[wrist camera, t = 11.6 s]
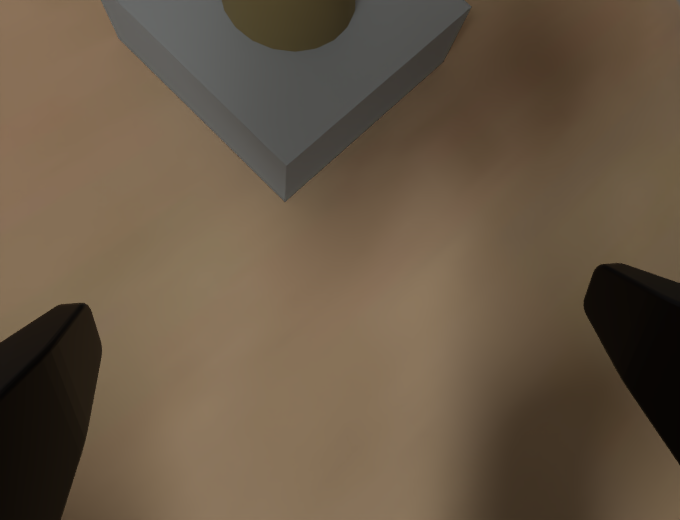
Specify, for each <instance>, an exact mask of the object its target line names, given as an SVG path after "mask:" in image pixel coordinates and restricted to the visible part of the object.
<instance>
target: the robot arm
mask: <svg viewBox="0 0 680 520" xmlns="http://www.w3.org/2000/svg"><path fill="white" fill-rule="evenodd" d="M583 305H584V310H585V313H586V315H587V317H588V319H589V321H590V323H591V325H592V326H593V328H594V330H595V332H596V334H597V335H598V337H599V339H600V341H601V343H602V345H603V346H604V348H605V350H606V352H607V354H608V356H609V357H610V359H611V361H612V363H613V365H614V367H615V368H616V370H617V372H618V374H619V375H620V377H621V379H622V380H623V382H624V384H625V385H626V387H627V388H628V390H629V391H630V393H631V394H632V396H633V397H634V399H635V400H636V402H637V403H638V404H639V406H640V407H641V409H642V410H643V412H644V413H645V415H646V416H647V418H648V419H649V421H650V422H651V424H652V425H653V426H654V428H655V429H656V431H657V432H658V434H659V435H660V437H661V438H662V440H663V441H664V443H665V444H666V446H667V447H668V448H669V450H670V451H671V453H672V454H673V456H674V457H675V459H676V460H677V462H678V463H679V465H680V283H678V282H675V281H672V280H669V279H666V278H663V277H660V276H657V275H655V274H652V273H649V272H646V271H643V270H640V269H637V268H634V267H631V266H628V265H625V264H622V263H612V264H601V265H599V266H597V267H596V269H595V270H594V272H593V275H592V278H591V281H590V283H589V286H588V289H587V292H586V295H585V298H584V304H583ZM101 356H102V345H101V340H100V337H99V334H98V331H97V327H96V324H95V321H94V318H93V315H92V311H91V309H90V307H89V306H88V305H87V304H85V303H72V304H61V305H58V306H56V307H54V308H53V309H51V310H50V311H48V312H47V313H45V314H44V315H42V316H40V317H39V318H37V319H36V320H34V321H33V322H31V323H30V324H28V325H27V326H25V327H24V328H22V329H20V330H19V331H17V332H16V333H14V334H13V335H11V336H10V337H8V338H7V339H5V340H4V341H2V342H1V343H0V520H61V517H62V514H63V511H64V508H65V505H66V501H67V498H68V495H69V492H70V489H71V486H72V483H73V479H74V476H75V473H76V470H77V467H78V464H79V460H80V457H81V454H82V451H83V447H84V444H85V440H86V435H87V431H88V426H89V421H90V416H91V410H92V405H93V399H94V394H95V389H96V383H97V378H98V373H99V367H100V362H101Z"/></svg>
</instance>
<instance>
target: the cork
mask: <svg viewBox="0 0 680 520" xmlns="http://www.w3.org/2000/svg"><path fill="white" fill-rule="evenodd" d="M222 3H223V7H224V11H225V12H226V14H227V15H228V17H229V18H230V20H231V21H232V23H233V24H234V26H235V27H236V28H237V29H238V30H240V31H241V32H242V33H243V34H245V35H246V36H247V37H248V38H250V39H251V40H252V41H255V42H257V43H259V44H262V45H264V46H267V47H269V48H272V49H277V50H285V51H293V52H297V51H303V50H310V49H316V48H318V47H321V46H323V45H325V44H327V43H329V42H331V41H333V40H335V39H336V38H337V37H338V36H339V35H340V34H341V33H342V32H343V31H344V30H345V29H346V28H347V27H348V25H349V23H350V21H351V18H352V16H353V14H354V12H355V0H222Z"/></svg>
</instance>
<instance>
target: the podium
mask: <svg viewBox="0 0 680 520" xmlns="http://www.w3.org/2000/svg"><path fill="white" fill-rule="evenodd" d="M101 1H102V4H103V6H104V8H105V10H106V12H107V14H108V16H109V19H110V21H111V23H112V25H113V27H114V29H115V31H116V34H117V36H118V38H119V39H120V40H121V41H122V42H123V43H124V44H125V45H126V46H127V47H128V48H129V49H130V50H131V51H132V52H133V53H134V54H135V55H136V56H137V57H138V58H139V59H140V60H141V61H142V62H143V63H144V64H145V65H146V66H147V67H148V68H149V69H150V70H151V71H153V72H154V73H155V74H156V75H157V76H158V77H159V78H160V79H161V80H162V81H163V82H164V83H165V84H166V85H167V86H168V87H169V88H170V89H171V90H172V91H173V92H174V93H175V94H176V95H177V96H178V97H179V98H180V99H181V100H182V101H183V102H184V103H185V104H186V105H187V106H188V107H189V108H190V109H191V110H192V111H193V112H194V113H195V114H196V115H197V116H198V117H199V118H200V119H201V120H202V121H203V122H204V123H205V124H206V125H207V126H208V127H209V128H210V129H211V130H212V131H214V132H215V133H216V134H217V135H218V136H219V137H220V138H221V139H222V140H223V141H224V142H225V143H226V144H227V145H228V146H229V147H230V148H231V149H232V150H233V151H234V152H235V153H236V154H237V155H238V156H239V157H240V158H241V159H242V160H243V161H244V162H245V163H246V164H247V165H248V166H249V167H250V168H251V169H252V170H253V171H254V172H255V173H256V174H257V175H258V176H259V177H260V178H261V179H262V180H263V181H264V182H265V183H266V184H267V185H268V186H269V187H270V188H271V189H272V190H273V191H274V192H276V193H277V194H278V195H279V196H280V197H281V198H282V199H283V200H284V201H286V200H288V199H289V198H290V197H291V196H292V195H293V194H294V193H296V192H297V191H298V190H299V189H300V188H301V187H302V186H303V185H305V184H306V183H307V182H308V181H309V180H310V179H311V178H312V177H314V176H315V175H316V174H317V173H318V172H319V171H320V170H321V169H323V168H324V167H325V166H326V165H327V164H328V163H329V162H331V161H332V160H333V159H334V158H335V157H336V156H337V155H338V154H340V153H341V152H342V151H343V150H344V149H345V148H346V147H347V146H349V145H350V144H351V143H352V142H353V141H354V140H355V139H357V138H358V137H359V136H360V135H361V134H362V133H363V132H364V131H366V130H367V129H368V128H369V127H370V126H371V125H372V124H373V123H375V122H376V121H377V120H378V119H379V118H380V117H381V116H382V115H384V114H385V113H386V112H387V111H388V110H389V109H390V108H392V107H393V106H394V105H395V104H396V103H397V102H398V101H399V100H401V99H402V98H403V97H404V96H405V95H406V94H407V93H408V92H410V91H411V90H412V89H413V88H414V87H415V86H416V85H418V84H419V83H420V82H421V81H422V80H423V79H424V78H425V77H427V76H428V75H429V74H430V73H431V72H432V71H433V70H434V69H436V68H437V67H438V66H439V65H440V64H441V63H442V62H443V61H444V59H445V57H446V55H447V53H448V52H449V50H450V48H451V46H452V44H453V42H454V40H455V38H456V36H457V34H458V32H459V30H460V28H461V26H462V24H463V22H464V20H465V19H466V17H467V15H468V13H469V11H470V9H471V6H470V5H469V4H468V3H467V2H466V1H465V0H355V12H354V14H353V16H352V18H351V21H350V23H349V25H348V27H347V28H346V29H345V30H344V31H343V32H342V33H341V34H340V35H339V36H338V37H337V38H336V39H335V40H333V41H331V42H329V43H327V44H325V45H323V46H321V47H318V48H316V49H310V50H303V51H297V52H293V51H285V50H277V49H272V48H269V47H267V46H264V45H262V44H259V43H257V42H255V41H252V40H251V39H250V38H248V37H247V36H246V35H245V34H243V33H242V32H241V31H240V30H238V29H237V28H236V27H235V26H234V24H233V23H232V21H231V20H230V18H229V17H228V15H227V14H226V12H225V11H224V7H223V3H222V0H101Z"/></svg>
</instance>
